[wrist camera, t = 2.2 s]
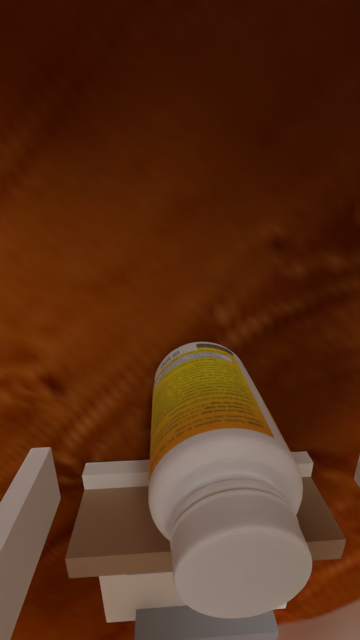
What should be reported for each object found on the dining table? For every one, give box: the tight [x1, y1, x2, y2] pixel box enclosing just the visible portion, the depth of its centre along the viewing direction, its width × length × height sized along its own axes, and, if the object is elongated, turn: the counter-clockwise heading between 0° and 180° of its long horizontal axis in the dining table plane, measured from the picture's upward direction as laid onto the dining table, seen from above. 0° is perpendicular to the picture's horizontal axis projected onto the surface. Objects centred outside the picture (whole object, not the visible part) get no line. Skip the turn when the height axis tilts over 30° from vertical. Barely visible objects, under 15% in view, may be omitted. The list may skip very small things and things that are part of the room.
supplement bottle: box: [148, 342, 312, 618], centre depth 13 cm, size 6×6×10 cm
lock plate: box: [65, 451, 346, 640], centre depth 20 cm, size 16×15×5 cm
